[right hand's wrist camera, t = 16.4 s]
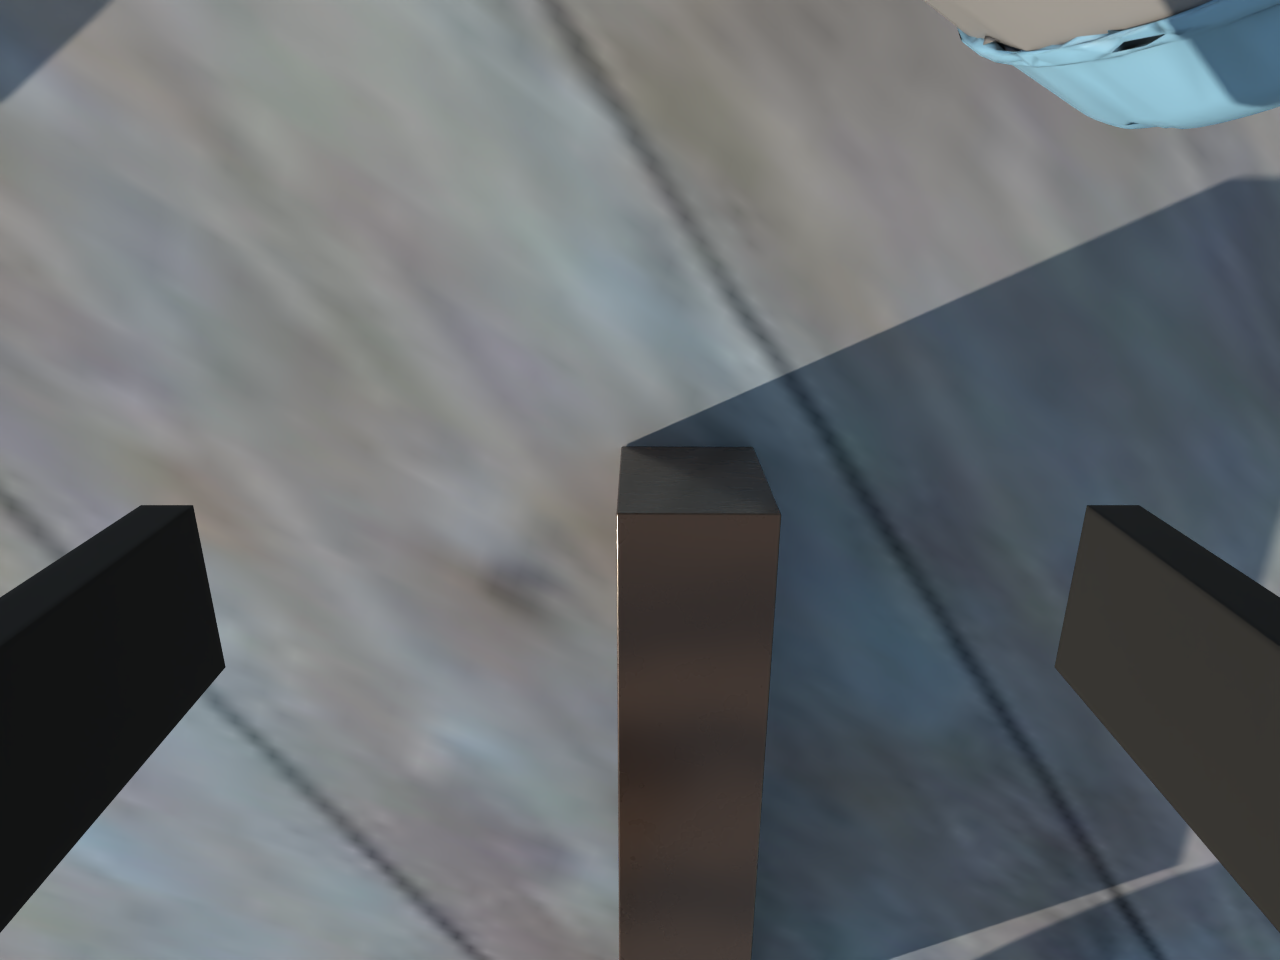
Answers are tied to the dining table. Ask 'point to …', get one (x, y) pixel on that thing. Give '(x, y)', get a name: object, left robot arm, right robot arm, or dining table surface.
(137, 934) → the dining table surface
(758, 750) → the walnut beam
